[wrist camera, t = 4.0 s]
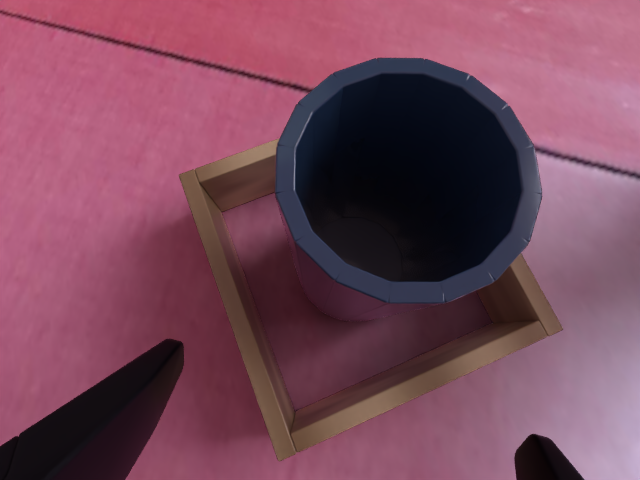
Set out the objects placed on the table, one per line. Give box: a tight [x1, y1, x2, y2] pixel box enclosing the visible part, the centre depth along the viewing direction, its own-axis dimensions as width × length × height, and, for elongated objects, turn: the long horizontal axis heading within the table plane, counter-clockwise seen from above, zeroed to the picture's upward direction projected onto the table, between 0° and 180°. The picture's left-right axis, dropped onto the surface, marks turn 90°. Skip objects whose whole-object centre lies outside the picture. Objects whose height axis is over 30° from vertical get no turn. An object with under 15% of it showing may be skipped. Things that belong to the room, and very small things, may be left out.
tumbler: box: [275, 58, 542, 322], centre depth 15 cm, size 6×6×13 cm
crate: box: [179, 138, 563, 461], centre depth 19 cm, size 14×14×4 cm
